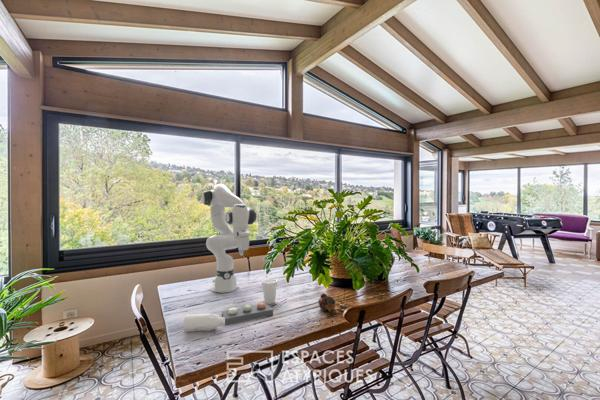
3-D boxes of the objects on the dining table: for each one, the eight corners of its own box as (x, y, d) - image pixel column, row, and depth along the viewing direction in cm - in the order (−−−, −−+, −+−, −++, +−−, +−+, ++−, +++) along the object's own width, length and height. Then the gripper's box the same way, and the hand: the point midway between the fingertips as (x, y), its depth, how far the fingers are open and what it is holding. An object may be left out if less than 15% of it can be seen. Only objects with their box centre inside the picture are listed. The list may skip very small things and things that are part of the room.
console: (221, 317, 155) (221, 311, 155) (266, 308, 166) (266, 303, 166) (225, 324, 146) (225, 318, 146) (272, 314, 157) (272, 309, 157)
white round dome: (227, 316, 154) (227, 308, 153) (236, 315, 156) (236, 306, 155) (229, 320, 149) (229, 311, 149) (238, 318, 151) (238, 309, 151)
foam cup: (260, 300, 179) (260, 279, 179) (274, 298, 182) (274, 278, 182) (264, 305, 170) (264, 284, 170) (279, 303, 174) (278, 282, 173)
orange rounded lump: (256, 311, 160) (256, 303, 160) (264, 309, 162) (263, 301, 162) (258, 314, 156) (258, 305, 156) (266, 312, 158) (266, 304, 158)
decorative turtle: (328, 303, 172) (328, 291, 172) (340, 315, 158) (341, 301, 157) (313, 305, 169) (314, 292, 168) (324, 317, 154) (325, 303, 154)
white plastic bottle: (223, 333, 137) (223, 317, 137) (182, 335, 135) (182, 318, 135) (225, 325, 145) (225, 310, 145) (187, 327, 143) (187, 311, 143)
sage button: (242, 314, 157) (242, 305, 157) (250, 312, 159) (250, 304, 159) (244, 317, 153) (244, 308, 153) (252, 315, 155) (252, 307, 155)
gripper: (231, 230, 174) (231, 252, 174) (239, 234, 155) (240, 259, 156) (241, 229, 177) (242, 251, 177) (251, 233, 158) (251, 258, 158)
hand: (241, 255), depth 166 cm, fingers closed
